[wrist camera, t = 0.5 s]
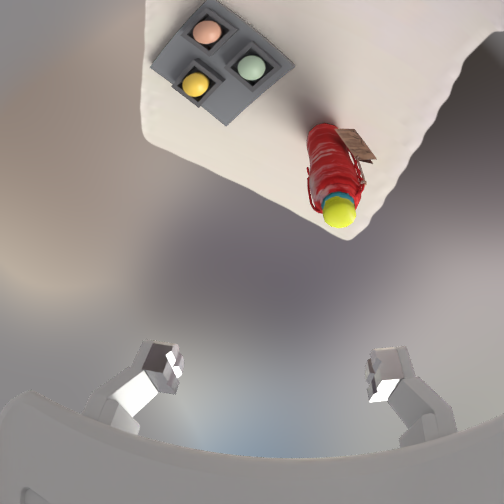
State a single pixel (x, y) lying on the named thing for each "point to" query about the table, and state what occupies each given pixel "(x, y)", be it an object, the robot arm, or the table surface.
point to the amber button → (196, 84)
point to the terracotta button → (207, 32)
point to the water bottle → (336, 172)
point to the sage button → (251, 67)
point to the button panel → (221, 62)
